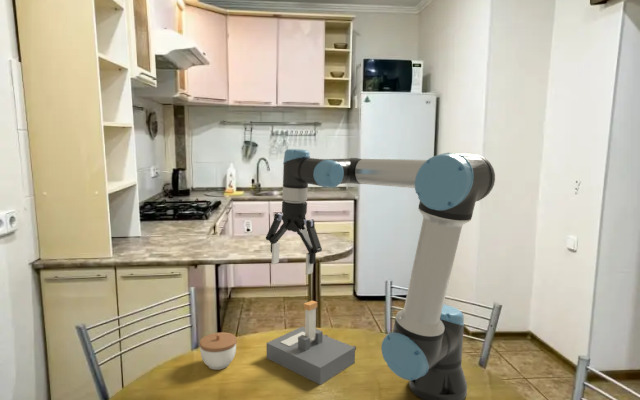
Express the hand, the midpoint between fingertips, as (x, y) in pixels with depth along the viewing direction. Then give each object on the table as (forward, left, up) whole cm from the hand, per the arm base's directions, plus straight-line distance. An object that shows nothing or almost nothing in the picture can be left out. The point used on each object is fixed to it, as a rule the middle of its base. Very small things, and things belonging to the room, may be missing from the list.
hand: (291, 268), depth 131 cm
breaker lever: (-8, 0, -21) cm, 22 cm away
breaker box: (-8, 0, -28) cm, 29 cm away
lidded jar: (+11, +20, -28) cm, 36 cm away
